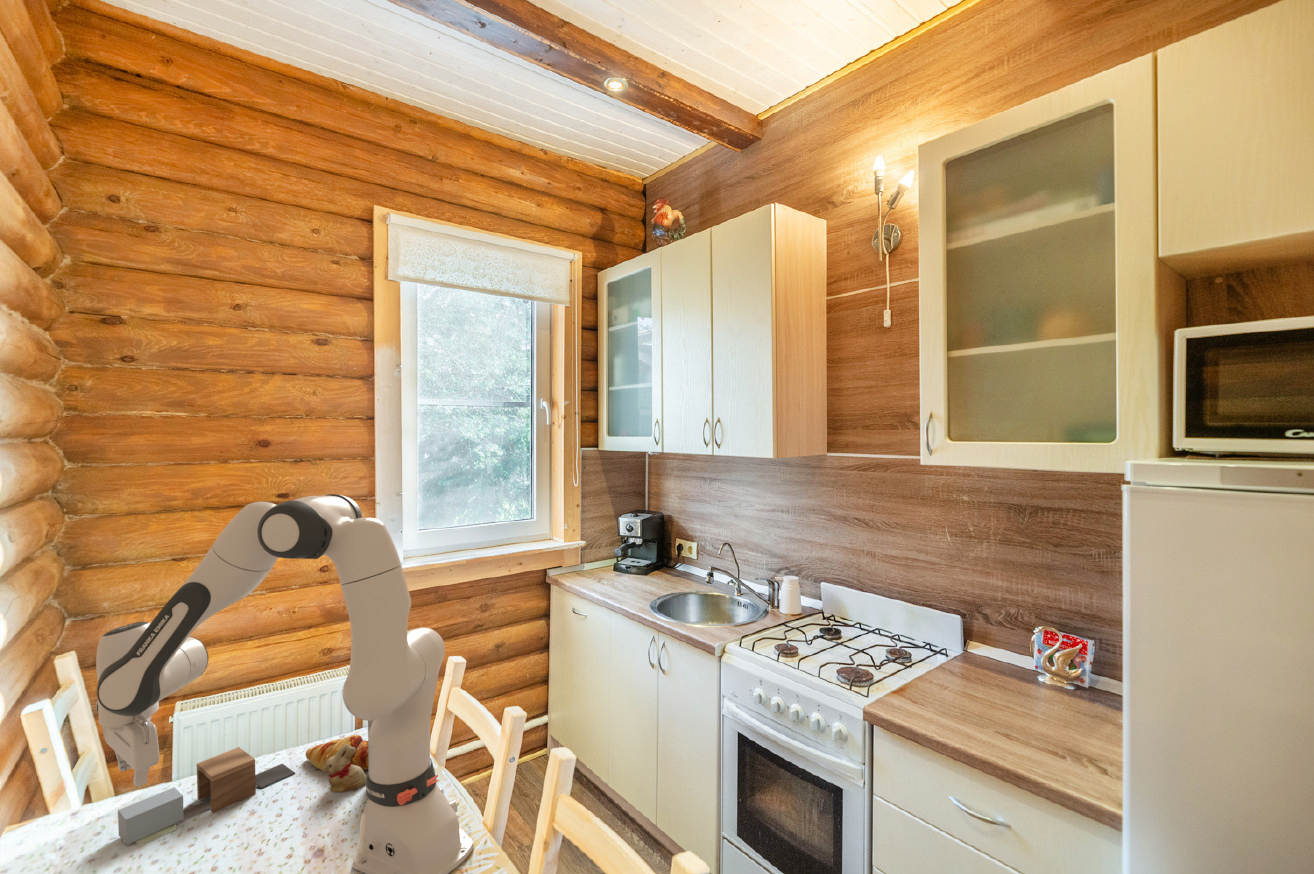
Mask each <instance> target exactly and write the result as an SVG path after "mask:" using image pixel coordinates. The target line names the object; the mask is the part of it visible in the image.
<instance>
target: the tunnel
mask: <svg viewBox="0 0 1314 874" xmlns="http://www.w3.org/2000/svg"><path fill="white" fill-rule="evenodd" d="M295 774H296V773H295V771H294V770H292V769H291V768H289V767H288V766H286V764H284V763H279V764H278V765H276V766H273V767H270V768H268V769H265V770H263V771H262V772H259V773H257V774H256V759H255V758H254V757H253V756H252V755H250V754H249V753H248V752H246V751H245V750H244V749H242V747H239V746H238V747H236V748H233V749H231V750H228V751H225V752H222V753H220V754H218V755H215V756H213V757H209V758H207V759H205V760H203V761H199V762H197V763H196V784H197V785H196V786H197V787H196V788H197V789H196V791H197V795H196V796H197V800H198V801H200V802H198V803H196V804H193V805H191V806H189V807H187V808H185V809H184V808H183V815H184V820H182V821H180V822H177V823H175V824H173V825H171V826H168V827H166V828H164V829H162V830H159V831H157V832H155V833H153V834H150V835H148V836H146V837H144V838H142V839H139V840H137V841H135V842H134V843H135V844H136V845H137V846H138V847H141V846H143V845H145V844H148V843H150V842H153V841H154V840H156V839H159V838H160V837H162V836H166V835H167V834H170V833H171V832H174V831H176V830H178V826H176V825H177V824H179V823H182V822H184V821H186V820H188V819H189V820H190V818H193V817H195V816H197V815H200V814H202V813H204V812H207V811H209V810H210V812H211V813H212V814H215V813H217V812H220V811H222V810H224V809H225V808H228V807H230V806H232V805H234V804H236V803H239V802H241V801H243V800H244V801H245V799H248V798H250V797H252V796H254V795H257V792H256V791H257V790H256V789H257V788H259V789H261V790H263V789H264V788H267V787H268V786H270V785H273V784H275V783H277V782H281V781H282V780H285V779H286V778H288V777H291V776H293V775H295ZM206 798H207V799H206ZM204 799H205V800H204ZM202 800H203V801H202Z"/></svg>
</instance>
